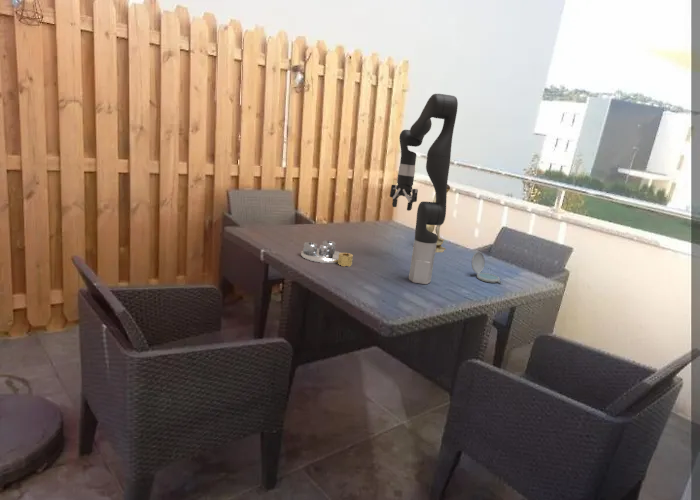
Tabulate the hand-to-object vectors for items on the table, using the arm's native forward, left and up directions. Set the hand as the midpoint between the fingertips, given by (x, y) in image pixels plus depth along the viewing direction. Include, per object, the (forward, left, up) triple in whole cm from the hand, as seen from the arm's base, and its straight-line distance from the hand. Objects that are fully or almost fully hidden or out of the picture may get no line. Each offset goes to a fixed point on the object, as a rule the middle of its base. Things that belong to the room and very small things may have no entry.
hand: (401, 208), depth 223 cm
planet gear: (-24, +22, -24) cm, 40 cm away
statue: (+29, -18, -24) cm, 42 cm away
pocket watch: (-16, -42, -24) cm, 51 cm away
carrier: (-17, +33, -24) cm, 44 cm away
